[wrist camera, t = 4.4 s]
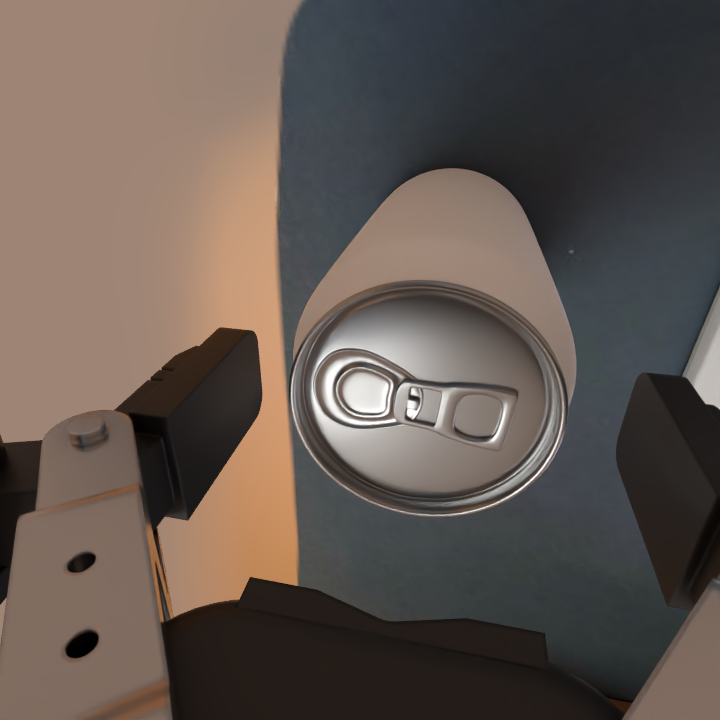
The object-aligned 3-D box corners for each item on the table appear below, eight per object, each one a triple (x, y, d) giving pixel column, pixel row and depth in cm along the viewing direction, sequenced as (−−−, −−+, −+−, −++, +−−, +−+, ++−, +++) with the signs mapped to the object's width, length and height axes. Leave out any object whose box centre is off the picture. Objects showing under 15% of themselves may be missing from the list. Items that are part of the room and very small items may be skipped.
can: (379, 154, 20) (272, 230, 9) (552, 178, 19) (647, 292, 8) (361, 309, 23) (265, 497, 12) (509, 336, 22) (539, 560, 12)
